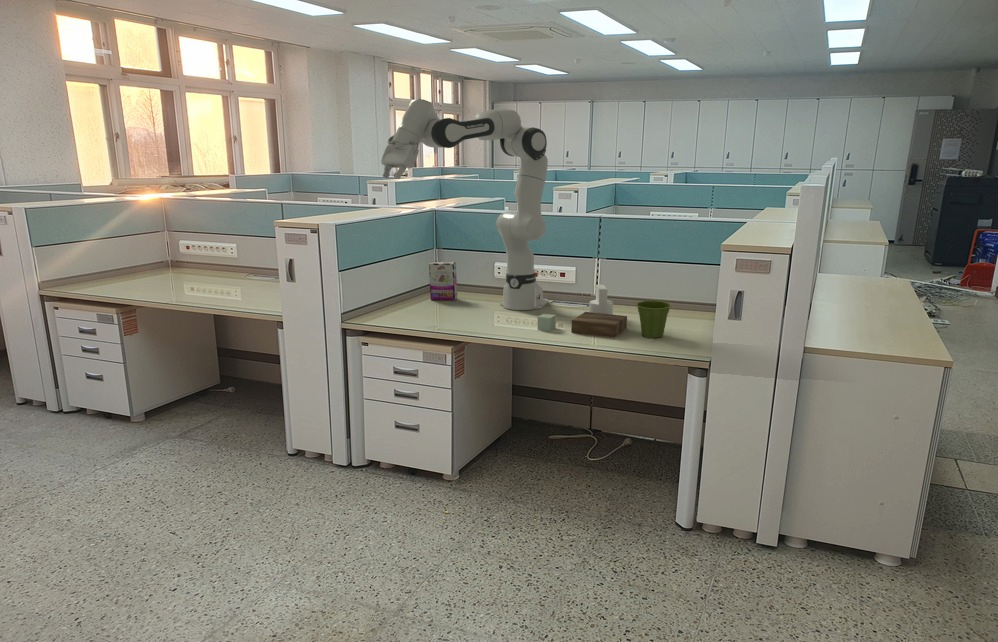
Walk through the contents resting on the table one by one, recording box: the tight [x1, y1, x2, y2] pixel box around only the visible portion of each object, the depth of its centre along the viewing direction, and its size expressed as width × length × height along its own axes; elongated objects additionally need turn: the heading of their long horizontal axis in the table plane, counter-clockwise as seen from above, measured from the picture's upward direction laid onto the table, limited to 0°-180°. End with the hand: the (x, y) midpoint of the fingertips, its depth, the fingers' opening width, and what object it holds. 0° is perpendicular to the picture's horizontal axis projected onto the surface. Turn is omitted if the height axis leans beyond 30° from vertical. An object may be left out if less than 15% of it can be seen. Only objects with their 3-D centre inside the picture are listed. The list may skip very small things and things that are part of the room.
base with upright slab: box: [588, 284, 614, 315], centre depth 259 cm, size 9×9×12 cm
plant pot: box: [635, 300, 672, 339], centre depth 232 cm, size 12×12×11 cm
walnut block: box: [570, 311, 628, 339], centre depth 241 cm, size 14×16×5 cm
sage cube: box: [537, 313, 557, 332], centre depth 243 cm, size 5×5×5 cm
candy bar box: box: [428, 261, 458, 301], centre depth 293 cm, size 11×5×16 cm, turn 81°
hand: (390, 178), depth 235 cm, fingers open, 8 cm apart
